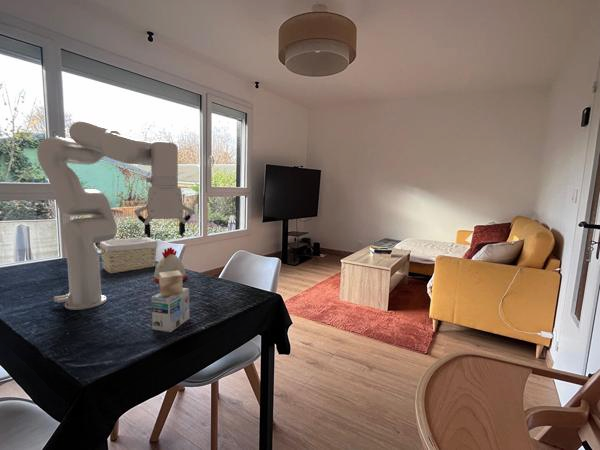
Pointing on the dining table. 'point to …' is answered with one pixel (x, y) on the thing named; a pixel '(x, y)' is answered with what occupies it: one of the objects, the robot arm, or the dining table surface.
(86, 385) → the dining table surface
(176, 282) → the maple block
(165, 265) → the kitchen timer
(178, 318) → the light bulb box
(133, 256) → the storage basket
